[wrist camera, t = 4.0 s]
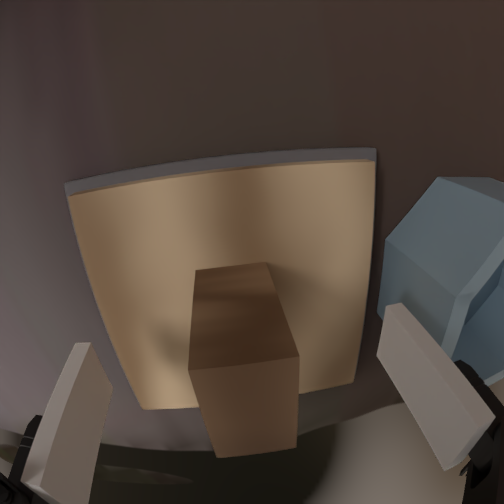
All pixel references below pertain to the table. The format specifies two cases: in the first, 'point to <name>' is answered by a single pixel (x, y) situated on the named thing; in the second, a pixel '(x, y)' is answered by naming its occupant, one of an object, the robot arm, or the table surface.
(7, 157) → the table surface
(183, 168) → the charcoal mat
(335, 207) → the oak board
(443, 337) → the slate-blue bowl
